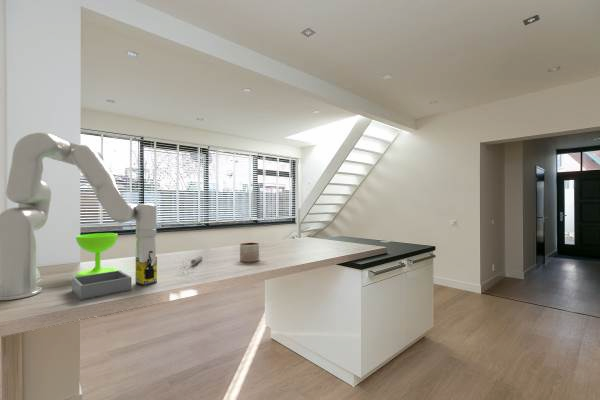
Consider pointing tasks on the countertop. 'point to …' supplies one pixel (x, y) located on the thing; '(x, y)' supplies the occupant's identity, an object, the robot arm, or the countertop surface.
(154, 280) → the supplement box
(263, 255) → the countertop surface
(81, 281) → the bin
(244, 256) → the planter
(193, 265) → the kitchen whisk
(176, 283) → the countertop surface
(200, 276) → the countertop surface
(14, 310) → the countertop surface
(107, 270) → the wineglass
